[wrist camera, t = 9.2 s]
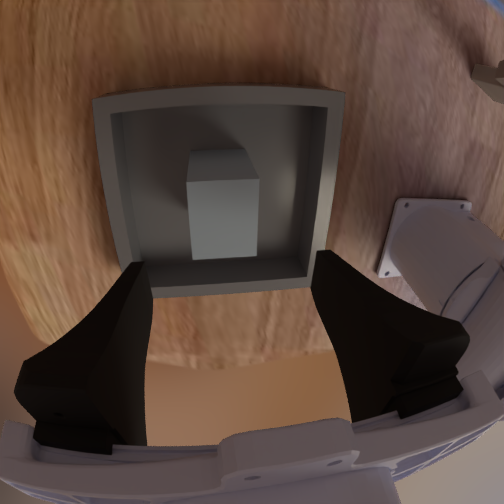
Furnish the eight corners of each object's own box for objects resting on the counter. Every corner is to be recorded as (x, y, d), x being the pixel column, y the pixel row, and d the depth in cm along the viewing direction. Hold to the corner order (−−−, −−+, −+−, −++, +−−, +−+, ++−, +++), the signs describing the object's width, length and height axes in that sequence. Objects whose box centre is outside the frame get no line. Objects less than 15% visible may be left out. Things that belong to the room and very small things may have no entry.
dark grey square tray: (326, 87, 18) (345, 92, 16) (306, 263, 26) (317, 286, 24) (107, 93, 16) (91, 99, 14) (134, 274, 24) (129, 299, 22)
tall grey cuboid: (245, 148, 20) (259, 178, 15) (244, 211, 22) (256, 256, 18) (190, 151, 19) (186, 182, 15) (193, 213, 22) (192, 259, 17)
